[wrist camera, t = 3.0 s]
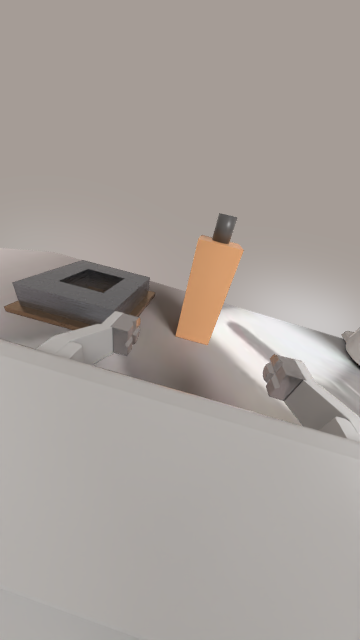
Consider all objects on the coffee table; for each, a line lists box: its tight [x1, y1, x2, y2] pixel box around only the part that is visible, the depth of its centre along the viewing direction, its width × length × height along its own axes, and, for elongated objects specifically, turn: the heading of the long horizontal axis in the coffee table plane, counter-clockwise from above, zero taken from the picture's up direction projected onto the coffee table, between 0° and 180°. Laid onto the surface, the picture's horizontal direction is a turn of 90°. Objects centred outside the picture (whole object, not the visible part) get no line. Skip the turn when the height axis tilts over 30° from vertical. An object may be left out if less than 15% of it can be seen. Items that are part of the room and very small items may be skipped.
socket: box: [4, 260, 155, 330], centre depth 25 cm, size 14×14×4 cm
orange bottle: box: [176, 214, 244, 345], centre depth 21 cm, size 4×4×14 cm
